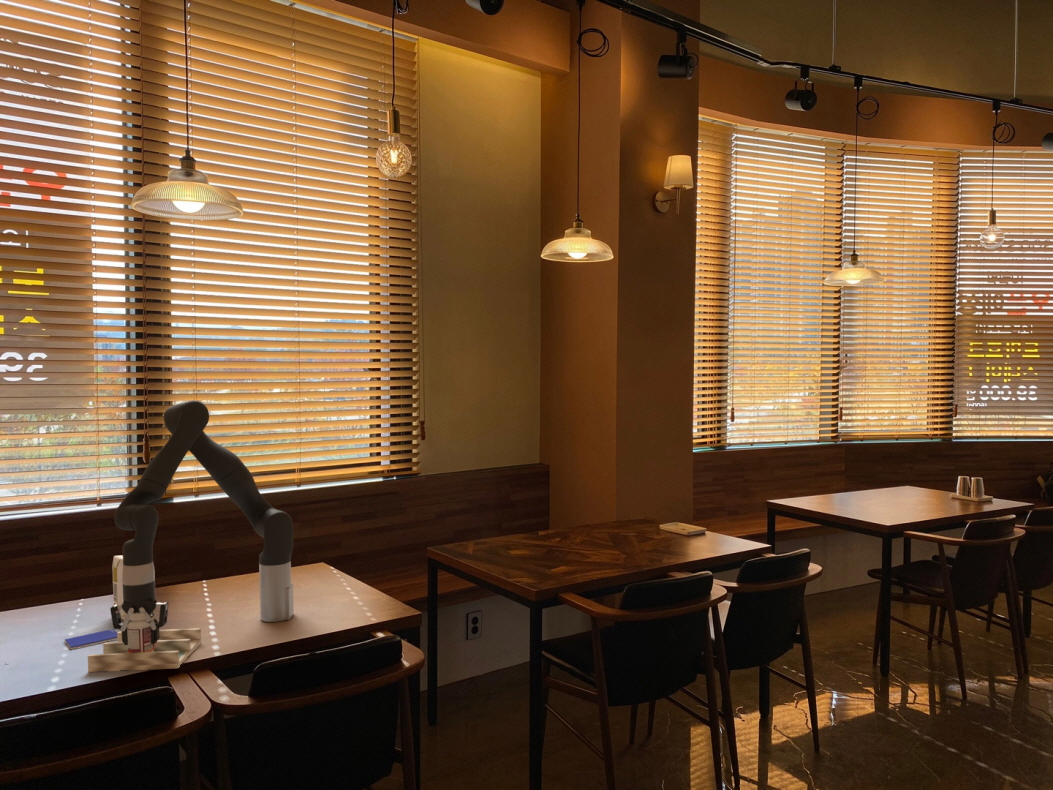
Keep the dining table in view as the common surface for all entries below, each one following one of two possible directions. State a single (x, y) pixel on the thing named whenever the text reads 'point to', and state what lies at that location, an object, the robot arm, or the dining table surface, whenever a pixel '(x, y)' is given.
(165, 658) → the slot rack
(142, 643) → the pill bottle
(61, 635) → the dining table surface
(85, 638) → the hard drive
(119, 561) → the juice carton
